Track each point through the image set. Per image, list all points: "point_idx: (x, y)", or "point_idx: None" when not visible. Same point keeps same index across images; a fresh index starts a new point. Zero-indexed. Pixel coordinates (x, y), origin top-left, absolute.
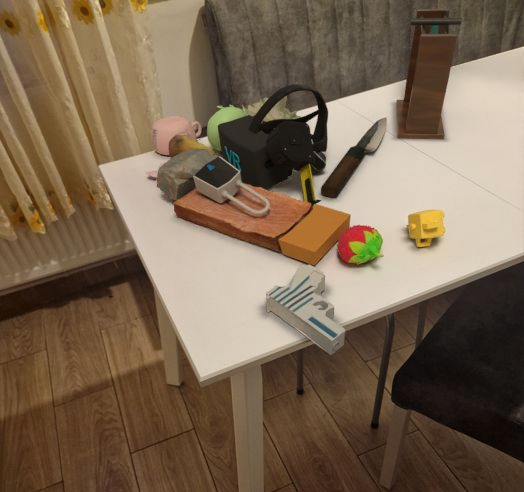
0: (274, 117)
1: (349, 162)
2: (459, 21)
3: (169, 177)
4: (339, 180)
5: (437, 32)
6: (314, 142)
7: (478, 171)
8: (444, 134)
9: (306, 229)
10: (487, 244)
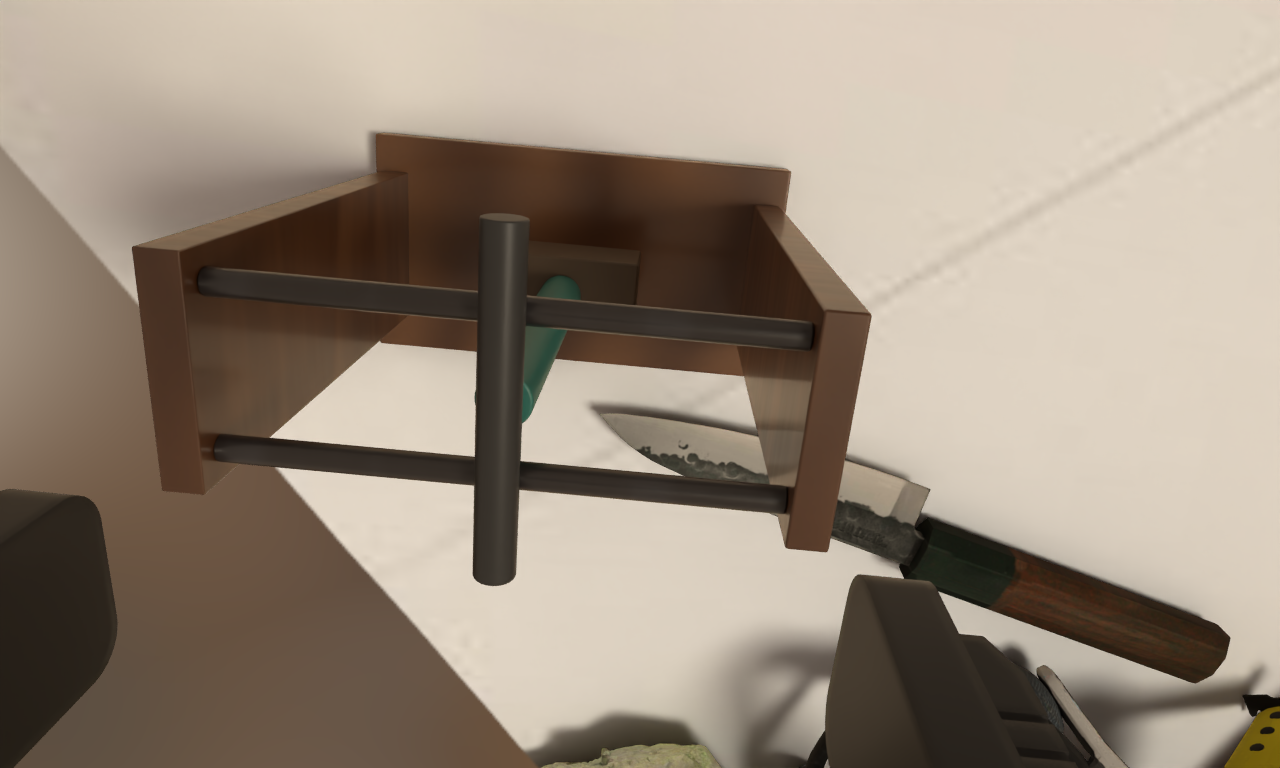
0: None
1: (1056, 597)
2: (527, 238)
3: None
4: (1176, 632)
5: (529, 365)
6: None
7: (1119, 64)
8: (785, 171)
9: None
10: None
